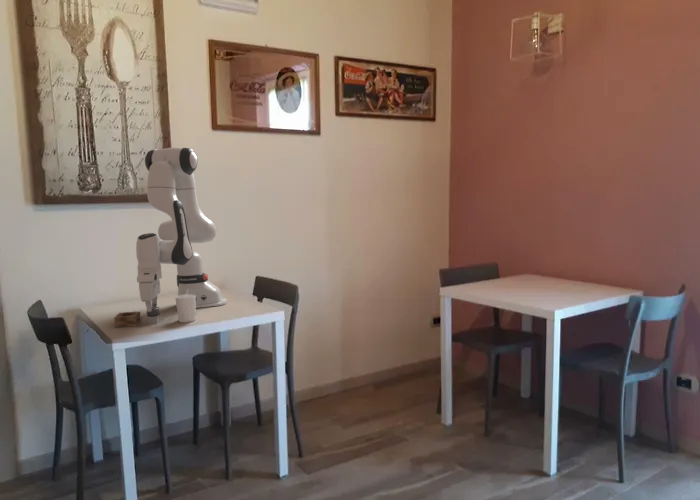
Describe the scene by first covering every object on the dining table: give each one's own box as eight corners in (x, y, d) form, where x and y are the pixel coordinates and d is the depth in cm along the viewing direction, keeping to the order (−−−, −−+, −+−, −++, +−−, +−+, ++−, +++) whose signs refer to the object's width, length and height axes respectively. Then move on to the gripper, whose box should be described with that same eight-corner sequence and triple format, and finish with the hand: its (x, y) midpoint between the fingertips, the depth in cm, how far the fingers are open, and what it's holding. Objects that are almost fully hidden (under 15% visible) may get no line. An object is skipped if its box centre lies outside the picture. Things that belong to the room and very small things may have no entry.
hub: (140, 321, 231) (140, 311, 231) (136, 326, 223) (135, 315, 223) (120, 322, 230) (119, 312, 230) (115, 327, 222) (114, 317, 222)
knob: (161, 320, 231) (160, 306, 230) (159, 323, 226) (157, 308, 225) (149, 321, 230) (147, 306, 229) (146, 324, 225) (145, 309, 225)
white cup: (179, 318, 233) (177, 294, 232) (198, 317, 234) (197, 293, 233) (175, 323, 226) (173, 298, 224) (195, 322, 226) (193, 297, 225)
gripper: (147, 271, 235) (149, 304, 236) (135, 278, 215) (138, 314, 216) (162, 270, 236) (165, 303, 237) (152, 277, 216) (155, 313, 217)
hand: (152, 308), depth 227 cm, fingers open, 8 cm apart
